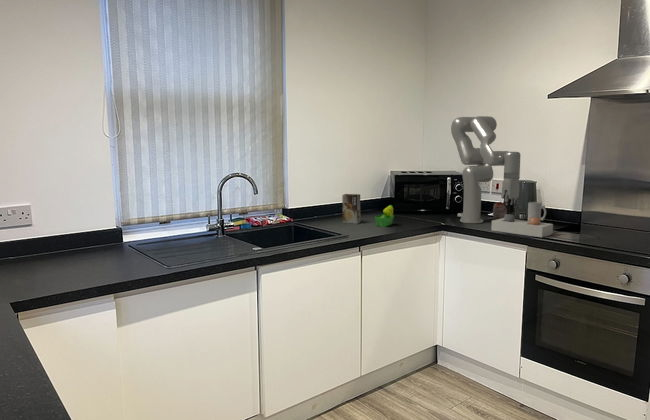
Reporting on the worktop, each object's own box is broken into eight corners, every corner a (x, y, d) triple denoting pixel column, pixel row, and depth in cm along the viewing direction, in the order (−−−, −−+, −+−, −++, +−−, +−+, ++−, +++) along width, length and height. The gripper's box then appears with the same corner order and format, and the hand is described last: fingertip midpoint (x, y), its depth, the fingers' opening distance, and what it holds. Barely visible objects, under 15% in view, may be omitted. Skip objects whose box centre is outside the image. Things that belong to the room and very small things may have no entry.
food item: (508, 220, 283) (509, 203, 281) (493, 220, 285) (494, 203, 283) (504, 217, 296) (505, 200, 295) (490, 216, 298) (491, 200, 296)
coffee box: (361, 222, 280) (361, 194, 278) (357, 224, 275) (357, 195, 272) (345, 221, 284) (345, 193, 282) (342, 223, 278) (342, 194, 276)
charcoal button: (502, 224, 252) (502, 215, 251) (507, 223, 255) (507, 213, 255) (511, 225, 248) (512, 216, 248) (516, 224, 252) (516, 215, 251)
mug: (524, 224, 270) (525, 202, 268) (531, 223, 274) (532, 201, 272) (541, 226, 262) (543, 204, 260) (548, 225, 266) (550, 203, 264)
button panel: (491, 230, 253) (491, 220, 252) (502, 227, 261) (503, 218, 260) (541, 237, 234) (542, 227, 233) (552, 234, 242) (553, 224, 242)
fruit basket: (381, 223, 277) (381, 203, 275) (396, 224, 273) (396, 204, 271) (373, 226, 267) (374, 205, 266) (389, 227, 263) (389, 206, 261)
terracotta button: (527, 227, 243) (527, 217, 242) (531, 226, 246) (532, 216, 245) (537, 228, 239) (537, 219, 238) (541, 227, 242) (542, 217, 242)
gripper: (511, 175, 256) (510, 210, 259) (497, 176, 246) (495, 213, 249) (525, 175, 251) (524, 211, 253) (511, 177, 241) (510, 214, 243)
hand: (510, 212), depth 251 cm, fingers closed
